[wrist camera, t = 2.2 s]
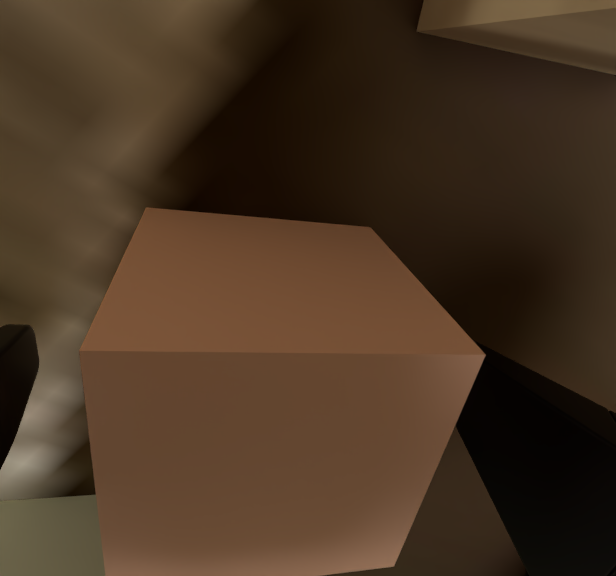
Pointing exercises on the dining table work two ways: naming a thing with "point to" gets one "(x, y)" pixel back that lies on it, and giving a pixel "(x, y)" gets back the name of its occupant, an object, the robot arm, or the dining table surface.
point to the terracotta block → (265, 398)
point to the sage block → (51, 537)
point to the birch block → (531, 28)
